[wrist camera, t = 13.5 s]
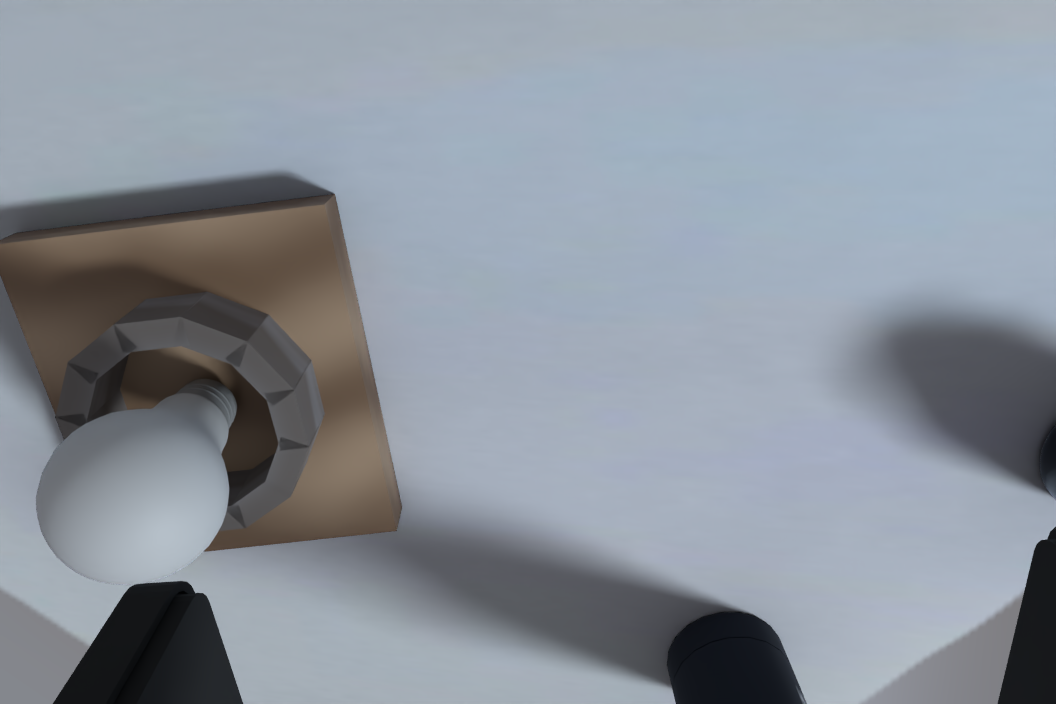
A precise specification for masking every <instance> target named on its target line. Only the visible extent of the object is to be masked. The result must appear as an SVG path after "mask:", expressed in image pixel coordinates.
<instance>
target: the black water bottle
mask: <svg viewBox="0 0 1056 704" xmlns="http://www.w3.org/2000/svg"><path fill="white" fill-rule="evenodd" d="M667 667H668V671H669V676H670V680H671V684H672V689H673V693H674V697H675V702H676V704H807V703H806V700H805V698H804V695H803V693H802V691H801V688H800V686H799V684H798V681H797V679H796V676H795V674H794V672H793V669H792V667H791V664H790V663H789V660H788V657H787V655H786V653H785V650H784V648H783V645H782V643H781V641H780V638H779V637H778V635H777V634H776V633H775V631H774V630H773V629H772V627H771V626H770V625H768V624H767V623H765V622H764V621H762V620H760V619H759V618H757V617H755V616H751V615H747V614H743V613H718V614H714V615H710V616H706V617H703V618H701V619H699V620H697V621H695V622H693V623H692V624H690V625H688V626H687V627H686V628H685V629H684V630H683V631H682V632H680V633H679V634H678V635H677V636H676V637H675V639H674V641H673V643H672V645H671V647H670V649H669V651H668V661H667Z"/></svg>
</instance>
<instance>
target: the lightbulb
mask: <svg viewBox="0 0 1056 704" xmlns="http://www.w3.org/2000/svg"><path fill="white" fill-rule="evenodd" d="M236 413H237V403H236V400H235V397H234V395H233V394H232V392H231V391H230V390H229V389H228V388H227V387H226V386H225V385H223V384H221V383H220V382H218V381H215V380H211V379H196V380H194V381H191V382H189V383H188V384H186V385H185V386H184V387H183V388H181V389H180V390H179V391H178V392H177V393H176V394H175V395H172V396H169V397H167V398H165V399H164V400H162V401H161V402H159V403H158V404H157V405H156V406H155V407H154V408H152V409H134V410H125V411H119V412H113V413H110V414H107V415H104V416H102V417H99V418H97V419H94V420H92V421H90V422H88V423H86V424H84V425H83V426H81V427H80V428H78V429H77V430H75V431H74V432H72V433H71V434H70V435H69V436H68V437H67V438H66V439H65V440H64V441H63V442H62V443H61V444H60V445H59V446H58V447H57V448H56V449H55V450H54V452H53V454H52V456H51V458H50V459H49V461H48V463H47V465H46V467H45V468H44V470H43V472H42V475H41V479H40V483H39V487H38V491H37V495H36V510H37V516H38V521H39V525H40V529H41V532H42V534H43V536H44V538H45V540H46V542H47V544H48V545H49V547H50V548H51V550H52V551H53V552H54V554H55V555H56V556H57V558H59V559H60V560H61V561H62V562H63V563H64V564H65V565H66V566H67V567H69V568H70V569H72V570H73V571H75V572H76V573H78V574H80V575H82V576H84V577H86V578H89V579H92V580H95V581H98V582H102V583H109V584H117V585H135V584H141V583H147V582H152V581H156V580H159V579H162V578H165V577H168V576H170V575H172V574H174V573H175V572H177V571H179V570H180V569H182V568H184V567H185V566H187V565H189V564H190V563H192V562H193V561H194V560H195V559H196V558H197V557H198V556H199V555H200V554H201V553H202V552H203V551H204V550H205V549H206V548H207V547H208V546H209V545H210V544H211V542H212V541H213V539H214V538H215V536H216V535H217V533H218V531H219V529H220V528H221V526H222V523H223V520H224V518H225V515H226V511H227V505H228V498H229V482H228V475H227V471H226V467H225V463H224V460H223V458H222V455H221V454H222V451H223V449H224V447H225V445H226V442H227V439H228V432H229V428H230V426H231V424H232V422H233V421H234V418H235V416H236Z"/></svg>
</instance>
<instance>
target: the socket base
mask: <svg viewBox="0 0 1056 704" xmlns="http://www.w3.org/2000/svg"><path fill="white" fill-rule="evenodd" d="M0 276H1V278H2V281H3V283H4V286H5V288H6V291H7V293H8V296H9V298H10V301H11V303H12V306H13V308H14V311H15V313H16V316H17V318H18V321H19V324H20V326H21V329H22V331H23V334H24V336H25V339H26V341H27V344H28V346H29V349H30V351H31V354H32V356H33V359H34V361H35V364H36V367H37V369H38V372H39V374H40V377H41V379H42V382H43V384H44V387H45V389H46V392H47V394H48V397H49V399H50V402H51V404H52V407H53V409H54V412H55V415H56V416H55V418H56V420H57V423H58V425H59V428H60V430H61V433H62V435H63V438H64V440H65V439H66V438H67V437H68V436H69V435H70V434H71V433H72V432H74V431H75V430H77V429H78V428H80V427H81V426H83V425H84V424H86V423H88V422H90V421H92V420H94V419H97V418H99V417H102V416H104V415H107V414H110V413H113V412H119V411H125V410H134V409H152V408H154V407H155V406H156V405H157V404H158V403H159V402H161V401H162V400H164V399H165V398H167V397H169V396H172V395H175V394H176V393H177V392H178V391H179V390H180V389H181V388H183V387H184V386H185V385H186V384H188V383H189V382H191V381H194V380H196V379H211V380H215V381H218V382H220V383H221V384H223V385H225V386H226V387H227V388H228V389H229V390H230V391H231V392H232V394H233V395H234V397H235V400H236V403H237V413H236V416H235V418H234V421H233V422H232V424H231V426H230V428H229V432H228V439H227V442H226V445H225V447H224V449H223V451H222V454H221V455H222V458H223V460H224V463H225V467H226V471H227V475H228V482H229V498H228V505H227V511H226V515H225V518H224V520H223V523H222V526H221V528H220V529H219V531H218V533H217V535H216V536H215V538H214V539H213V541H212V542H211V544H210V545H209V546H208V547H207V548H206V549H205V550H204V551H203V552H205V551H215V550H224V549H233V548H243V547H252V546H261V545H270V544H280V543H289V542H298V541H308V540H317V539H326V538H336V537H345V536H354V535H363V534H373V533H382V532H391V531H397V527H398V523H399V518H400V514H401V510H402V505H401V500H400V495H399V491H398V486H397V482H396V477H395V472H394V468H393V463H392V458H391V454H390V449H389V444H388V440H387V435H386V430H385V426H384V421H383V416H382V412H381V407H380V402H379V398H378V393H377V388H376V384H375V379H374V374H373V370H372V365H371V360H370V356H369V351H368V346H367V342H366V337H365V332H364V328H363V323H362V318H361V314H360V309H359V304H358V300H357V295H356V290H355V286H354V281H353V276H352V272H351V267H350V262H349V258H348V253H347V248H346V244H345V239H344V234H343V230H342V225H341V220H340V216H339V211H338V206H337V202H336V197H335V194H331V195H322V196H314V197H306V198H298V199H290V200H282V201H273V202H265V203H257V204H249V205H241V206H232V207H224V208H216V209H208V210H200V211H192V212H183V213H175V214H167V215H159V216H151V217H143V218H134V219H126V220H118V221H110V222H102V223H93V224H85V225H77V226H69V227H61V228H53V229H44V230H36V231H28V232H20V233H15V234H13V235H11V236H8V237H6V238H4V239H2V240H0Z"/></svg>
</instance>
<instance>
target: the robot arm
mask: <svg viewBox="0 0 1056 704" xmlns="http://www.w3.org/2000/svg"><path fill="white" fill-rule="evenodd" d="M53 704H243V702H242V699H241V696H240V693H239V690H238V687H237V684H236V681H235V678H234V675H233V672H232V669H231V666H230V663H229V660H228V657H227V654H226V651H225V648H224V645H223V642H222V639H221V636H220V633H219V630H218V627H217V624H216V621H215V618H214V615H213V611H212V608H211V605H210V602H209V600H208V598H207V596H206V595H204V594H203V593H195V592H194V590H193V588H192V586H191V585H190V584H189V583H188V582H184V581H177V582H161V583H145V584H135V585H133V586H131V587H130V588H129V589H128V590H127V591H126V592H125V594H124V595H123V597H122V598H121V600H120V601H119V603H118V604H117V606H116V607H115V609H114V610H113V612H112V614H111V615H110V617H109V618H108V620H107V621H106V623H105V624H104V626H103V627H102V629H101V630H100V632H99V634H98V635H97V637H96V638H95V640H94V641H93V643H92V644H91V646H90V648H89V649H88V650H87V652H86V654H85V655H84V657H83V658H82V660H81V661H80V663H79V664H78V666H77V667H76V669H75V671H74V672H73V674H72V675H71V677H70V678H69V680H68V682H67V683H66V684H65V686H64V687H63V689H62V690H61V692H60V694H59V695H58V697H57V698H56V700H55V701H54V703H53ZM998 704H1056V527H1055V528H1054V529H1053V530H1052V531H1051V532H1050V534H1049V536H1048V539H1047V540H1041V541H1040V542H1039V543H1038V544H1037V545H1036V547H1035V550H1034V554H1033V558H1032V562H1031V566H1030V570H1029V575H1028V579H1027V583H1026V587H1025V591H1024V595H1023V600H1022V604H1021V608H1020V612H1019V617H1018V621H1017V625H1016V629H1015V633H1014V638H1013V642H1012V646H1011V650H1010V654H1009V658H1008V663H1007V667H1006V671H1005V675H1004V679H1003V683H1002V688H1001V692H1000V696H999V700H998Z"/></svg>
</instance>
